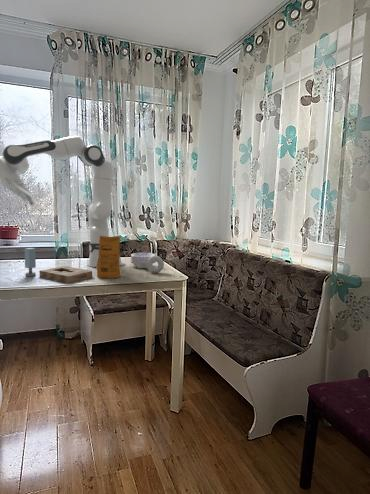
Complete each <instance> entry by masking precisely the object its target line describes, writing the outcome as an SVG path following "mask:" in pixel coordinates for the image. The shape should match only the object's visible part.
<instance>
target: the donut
mask: <svg viewBox="0 0 370 494" xmlns="http://www.w3.org/2000/svg"><path fill="white" fill-rule="evenodd" d="M153 262H155V263H157V265H156V266H154V263H153ZM164 268H165V262H164V259H163V258H162V257H160V256H159V255H156V256H152V257H150V258H149V259H148V261H147V268H146V269H147V270H148V271H149V272H151V273H152V274H153V273H154V274H156V273H160V272H161V271H162V270H163V269H164Z"/></svg>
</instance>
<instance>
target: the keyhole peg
mask: <svg viewBox="0 0 370 494" xmlns="http://www.w3.org/2000/svg"><path fill="white" fill-rule="evenodd" d="M36 265H37V264H36V248H34V247H26V248H24V268H25V269H28V272H25V277H26V278H34V277H36V276H37V275H36V272H34V271H33V269H35V268H36Z"/></svg>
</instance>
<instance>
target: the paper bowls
mask: <svg viewBox="0 0 370 494" xmlns="http://www.w3.org/2000/svg"><path fill="white" fill-rule="evenodd" d="M152 256H157V255H156V254H155V253H151V252H135V253H134V252H133V253H131V255H130V263H131V264H133V266H134V267H135V268H137V269H148V268H147V261H148V259H149V258H150V257H152ZM155 263H156V262H153V264H155Z"/></svg>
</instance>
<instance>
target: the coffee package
mask: <svg viewBox="0 0 370 494" xmlns="http://www.w3.org/2000/svg"><path fill="white" fill-rule="evenodd" d="M120 244H121V236H120V235H116V236H109V237H106V236H100V240H99V258H98V262H97V267H96V277H97V278H98V279H103V278H106V279H117V278H120V276H121V267H120V266H119V257H120V258H121V253H120V246H121V245H120Z"/></svg>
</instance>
